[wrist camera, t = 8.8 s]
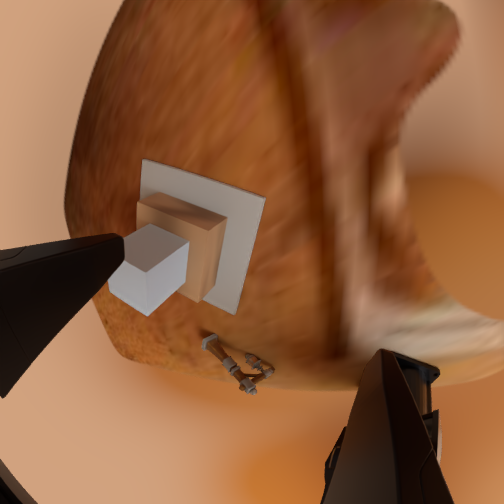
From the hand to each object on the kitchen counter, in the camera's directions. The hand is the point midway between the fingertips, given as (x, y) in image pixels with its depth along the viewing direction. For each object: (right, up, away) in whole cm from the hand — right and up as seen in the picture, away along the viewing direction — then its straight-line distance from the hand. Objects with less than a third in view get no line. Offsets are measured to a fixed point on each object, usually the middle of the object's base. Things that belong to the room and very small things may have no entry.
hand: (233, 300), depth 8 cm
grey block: (-6, +1, +14) cm, 15 cm away
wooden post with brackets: (-1, -9, +21) cm, 23 cm away
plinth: (-5, +3, +16) cm, 17 cm away
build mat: (-5, +3, +17) cm, 18 cm away
